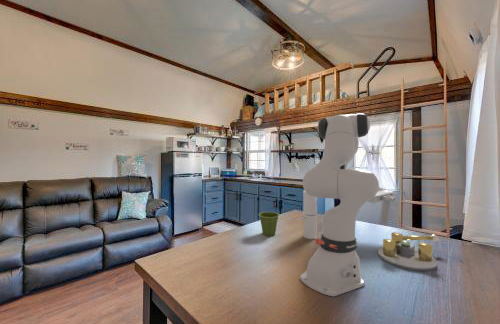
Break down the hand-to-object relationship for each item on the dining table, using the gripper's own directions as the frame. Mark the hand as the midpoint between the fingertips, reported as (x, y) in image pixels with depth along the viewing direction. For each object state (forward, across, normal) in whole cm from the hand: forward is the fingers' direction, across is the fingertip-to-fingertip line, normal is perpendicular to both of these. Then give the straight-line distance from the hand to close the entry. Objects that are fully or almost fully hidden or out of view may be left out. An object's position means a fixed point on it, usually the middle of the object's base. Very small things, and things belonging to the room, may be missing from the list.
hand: (394, 199), depth 113 cm
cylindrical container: (-26, -30, +24) cm, 47 cm away
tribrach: (+15, -16, +19) cm, 29 cm away
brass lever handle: (+13, -5, +18) cm, 23 cm away
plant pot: (-41, -47, +26) cm, 68 cm away
